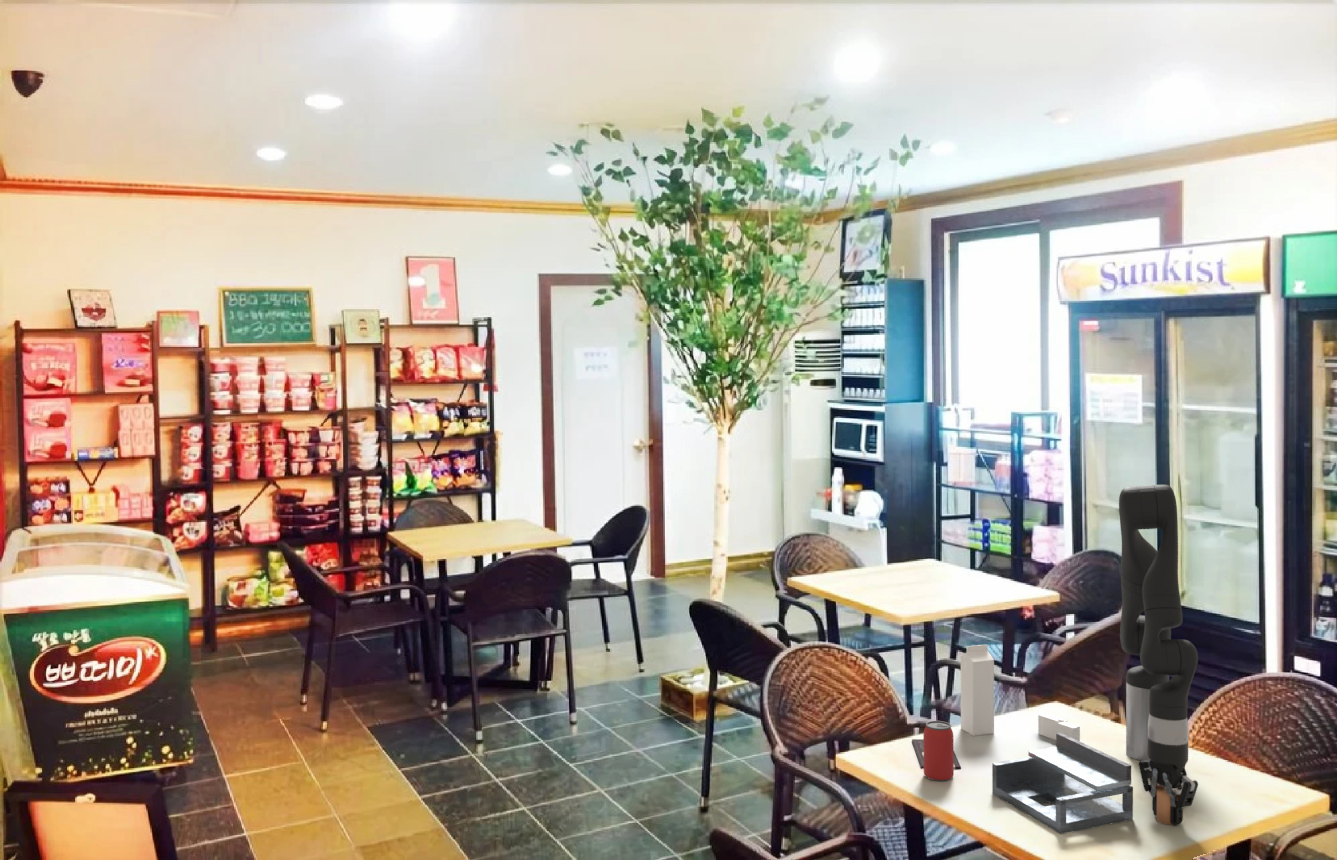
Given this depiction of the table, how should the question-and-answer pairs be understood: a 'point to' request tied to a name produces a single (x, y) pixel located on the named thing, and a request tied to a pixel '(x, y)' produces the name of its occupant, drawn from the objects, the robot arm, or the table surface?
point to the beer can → (938, 751)
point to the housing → (1058, 796)
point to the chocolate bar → (919, 751)
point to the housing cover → (1084, 764)
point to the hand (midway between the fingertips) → (1167, 819)
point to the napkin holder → (1056, 727)
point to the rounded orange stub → (1163, 806)
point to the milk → (977, 691)
